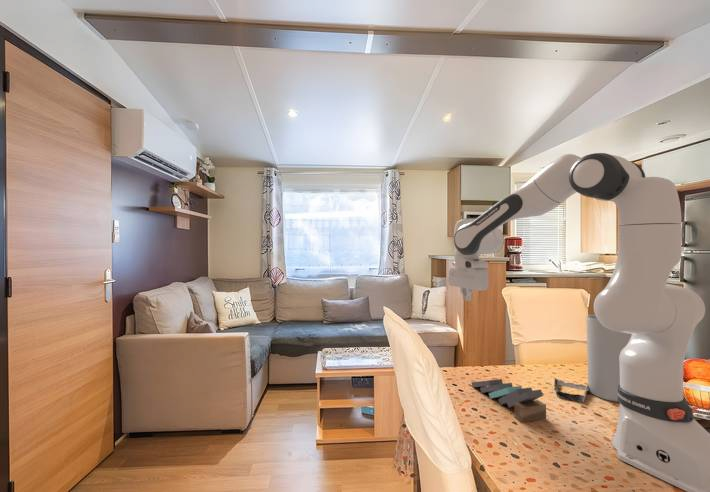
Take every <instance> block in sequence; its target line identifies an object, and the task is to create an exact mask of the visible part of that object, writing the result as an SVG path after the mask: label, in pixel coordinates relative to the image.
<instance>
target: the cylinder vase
mask: <svg viewBox="0 0 710 492" xmlns="http://www.w3.org/2000/svg"><path fill="white" fill-rule="evenodd" d="M631 336H632V334H628V333H622V332H617V331H612V330H610V329H608V328H606V327H604V326H603V325H602V324H601V323H600V322H599V321H598V319H597V318H596V316H595V314H588V315H586V346H587V348H586V349H587V353H586V354H587V355H586V356H587V360H586V361H587V385H588V391H589V393H590V394H592V395H593V396H595V397H597V398H600V399H603V400H606V401H610V402H615V403H619V402H618V385H619V384H620V370H619V356H620V353H621V351H622V349H623V348H624V347H625V346H626V345H627V344H628V342H629V340H630V338H631Z"/></svg>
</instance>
